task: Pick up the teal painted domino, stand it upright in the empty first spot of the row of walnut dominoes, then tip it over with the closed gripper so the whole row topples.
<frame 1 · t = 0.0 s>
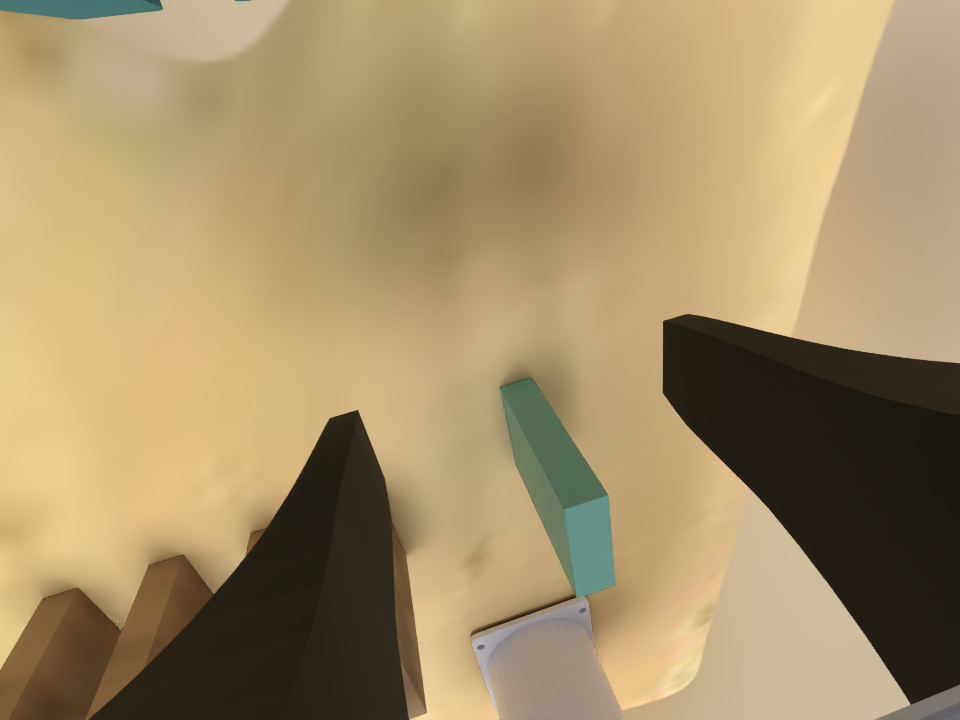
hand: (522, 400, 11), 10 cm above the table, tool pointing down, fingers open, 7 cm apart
walnut domino 5: (91, 624, 24), on the table
walnut domino 2: (378, 530, 26), on the table
walnut domino 4: (191, 591, 25), on the table
teal domino: (523, 423, 25), on the table
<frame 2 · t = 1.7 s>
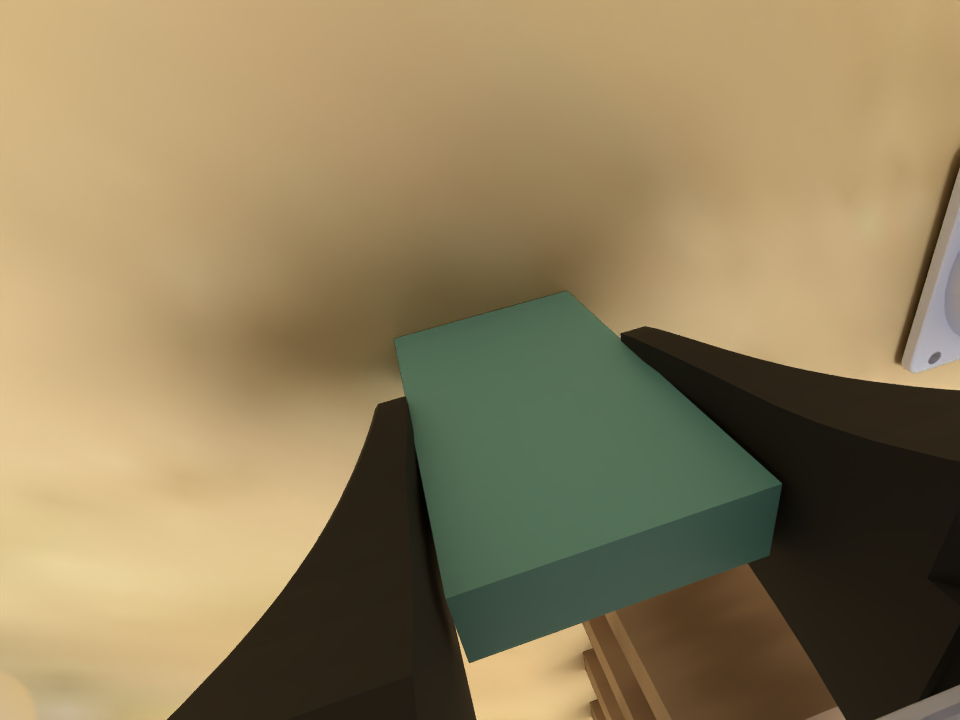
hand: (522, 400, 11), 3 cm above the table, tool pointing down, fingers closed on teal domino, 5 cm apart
walnut domino 2: (626, 505, 19), on the table
walnut domino 4: (632, 643, 24), on the table
walnut domino 3: (630, 582, 21), on the table
teal domino: (487, 339, 14), on the table, touching gripper
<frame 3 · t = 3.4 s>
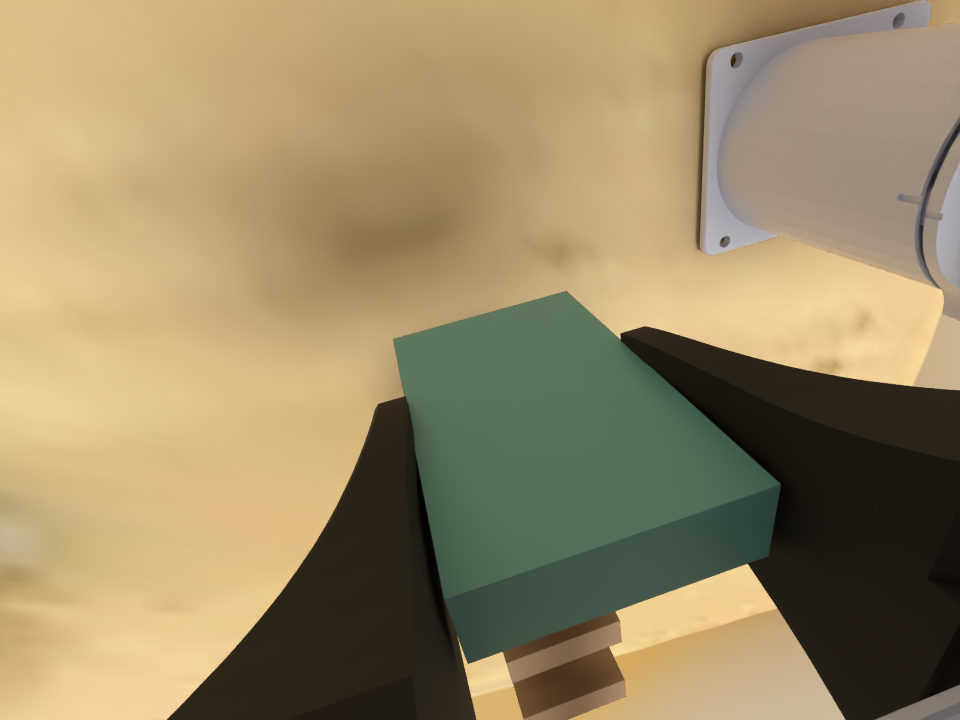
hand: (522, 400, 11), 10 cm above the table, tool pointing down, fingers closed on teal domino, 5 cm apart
walnut domino 5: (523, 567, 30), on the table
walnut domino 4: (510, 513, 28), on the table
teal domino: (486, 339, 14), point 7 cm above the table, touching gripper
when the fingers open (4 cm above the table, at t = 5.4 s): teal domino drops 1 cm, on the table.
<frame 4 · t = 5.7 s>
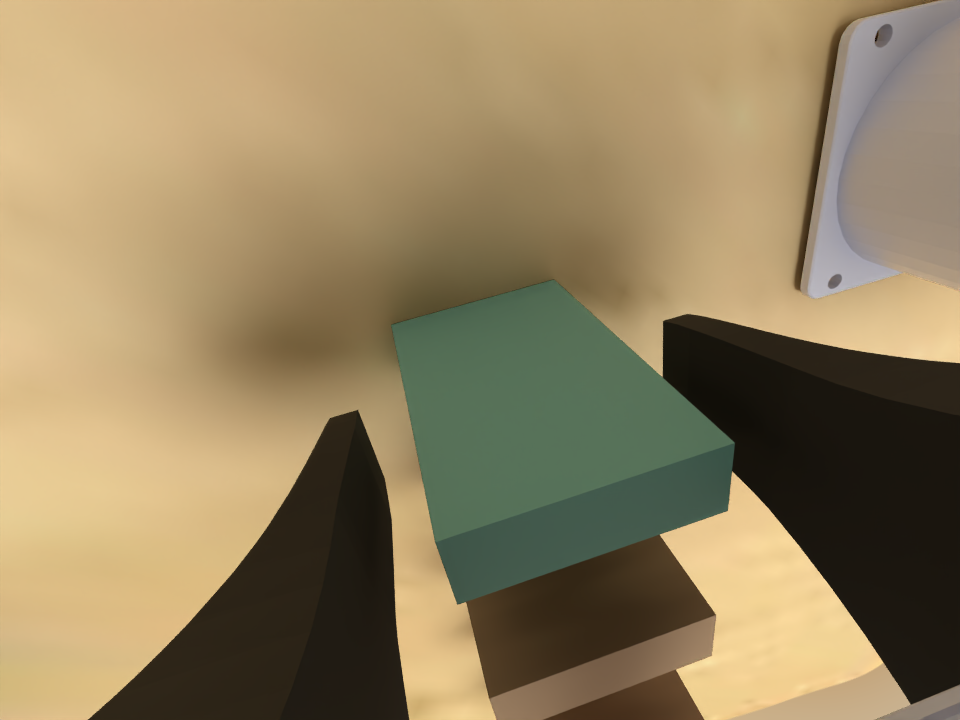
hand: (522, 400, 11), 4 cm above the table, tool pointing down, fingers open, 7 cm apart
walnut domino 2: (504, 444, 17), on the table
walnut domino 3: (523, 535, 20), on the table
teal domino: (479, 325, 15), on the table
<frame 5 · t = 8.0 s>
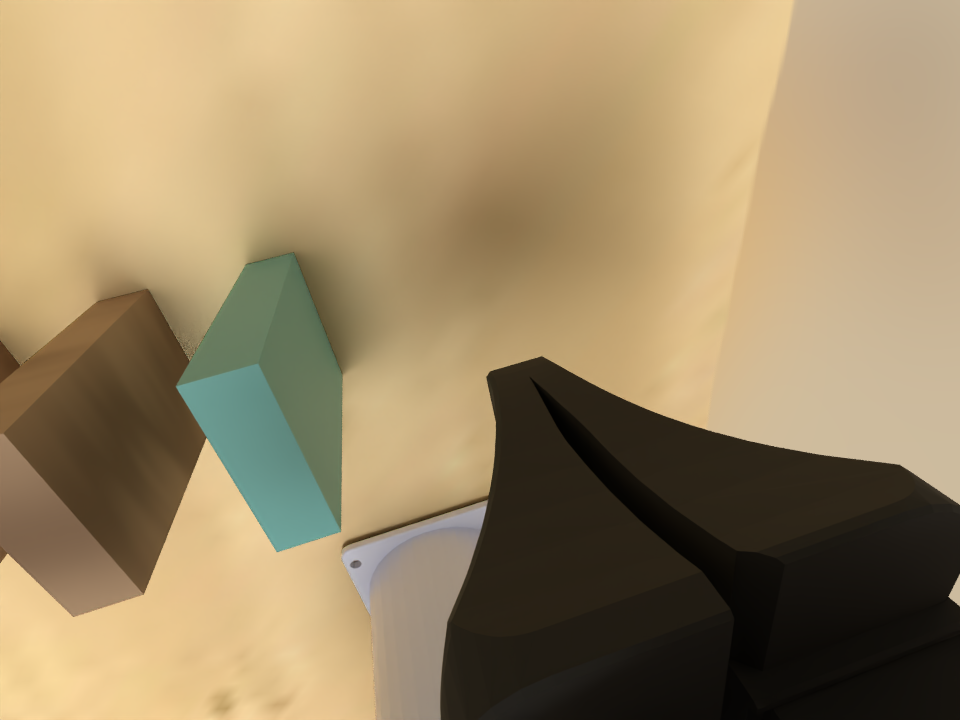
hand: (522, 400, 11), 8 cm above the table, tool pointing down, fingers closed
walnut domino 2: (161, 360, 17), on the table
walnut domino 3: (16, 399, 17), on the table
teal domino: (297, 324, 18), on the table
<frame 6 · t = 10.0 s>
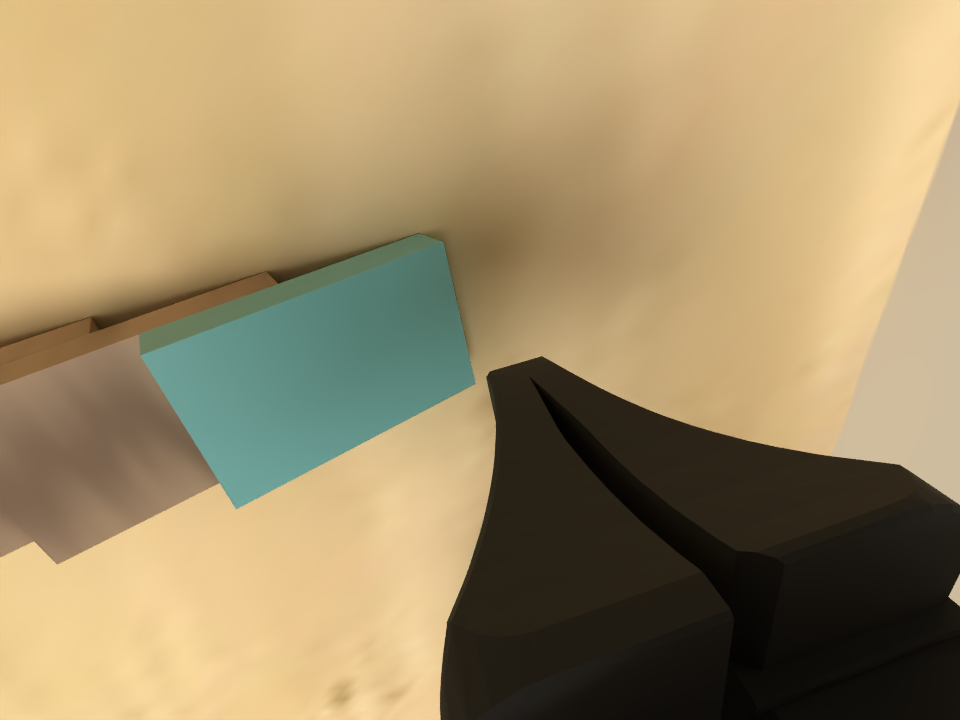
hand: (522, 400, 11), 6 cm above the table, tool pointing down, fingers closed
walnut domino 2: (303, 350, 16), point 1 cm above the table, tilted 70°, touching teal domino
walnut domino 3: (137, 397, 15), point 1 cm above the table, tilted 69°, touching walnut domino 4
teal domino: (448, 311, 16), point 1 cm above the table, tilted 70°, touching walnut domino 2
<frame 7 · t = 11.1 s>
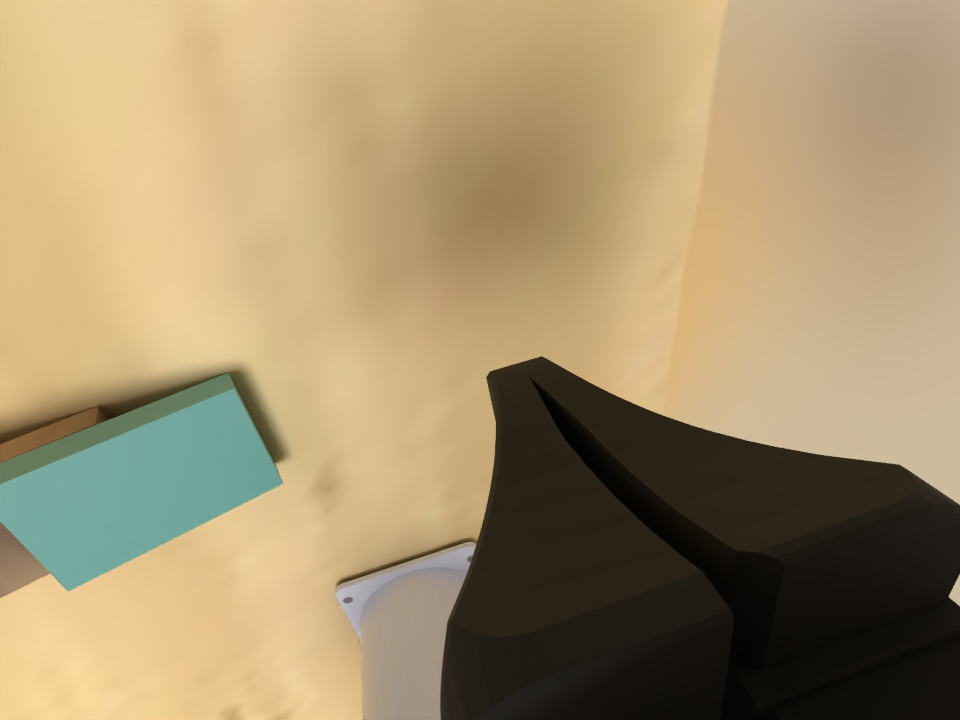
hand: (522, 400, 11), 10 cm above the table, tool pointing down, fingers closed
walnut domino 2: (132, 463, 20), point 1 cm above the table, tilted 71°
teal domino: (256, 429, 21), point 1 cm above the table, tilted 71°
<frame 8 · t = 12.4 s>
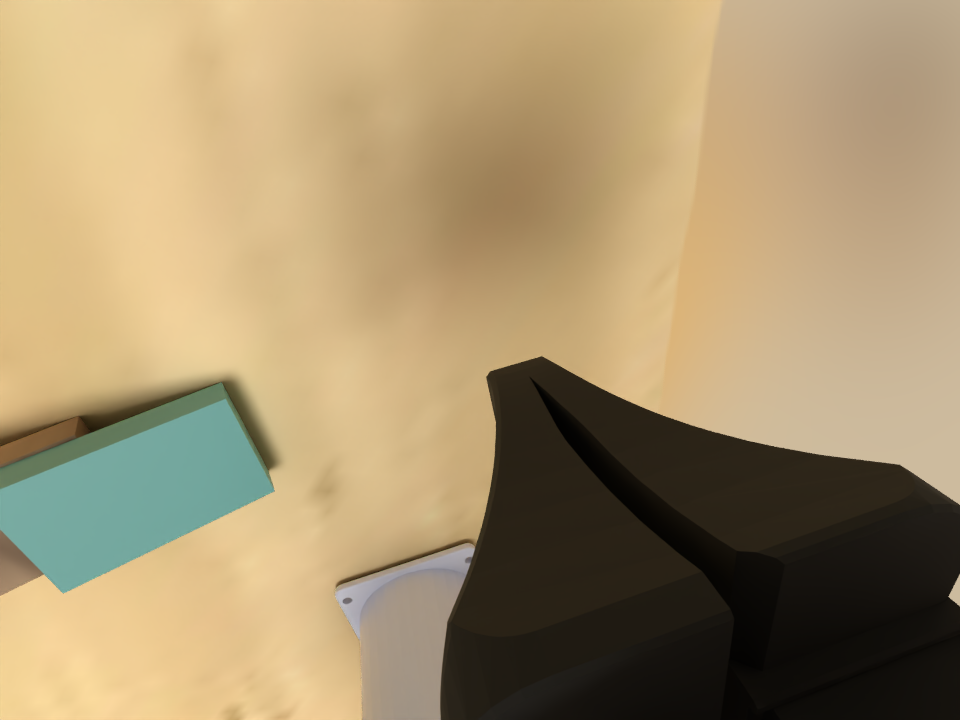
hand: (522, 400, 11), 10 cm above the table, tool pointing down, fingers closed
walnut domino 2: (112, 472, 20), point 1 cm above the table, tilted 71°, touching teal domino, walnut domino 3
teal domino: (249, 438, 21), point 1 cm above the table, tilted 73°, touching walnut domino 2
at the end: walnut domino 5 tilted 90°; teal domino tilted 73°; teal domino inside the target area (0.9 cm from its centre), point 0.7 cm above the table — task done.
